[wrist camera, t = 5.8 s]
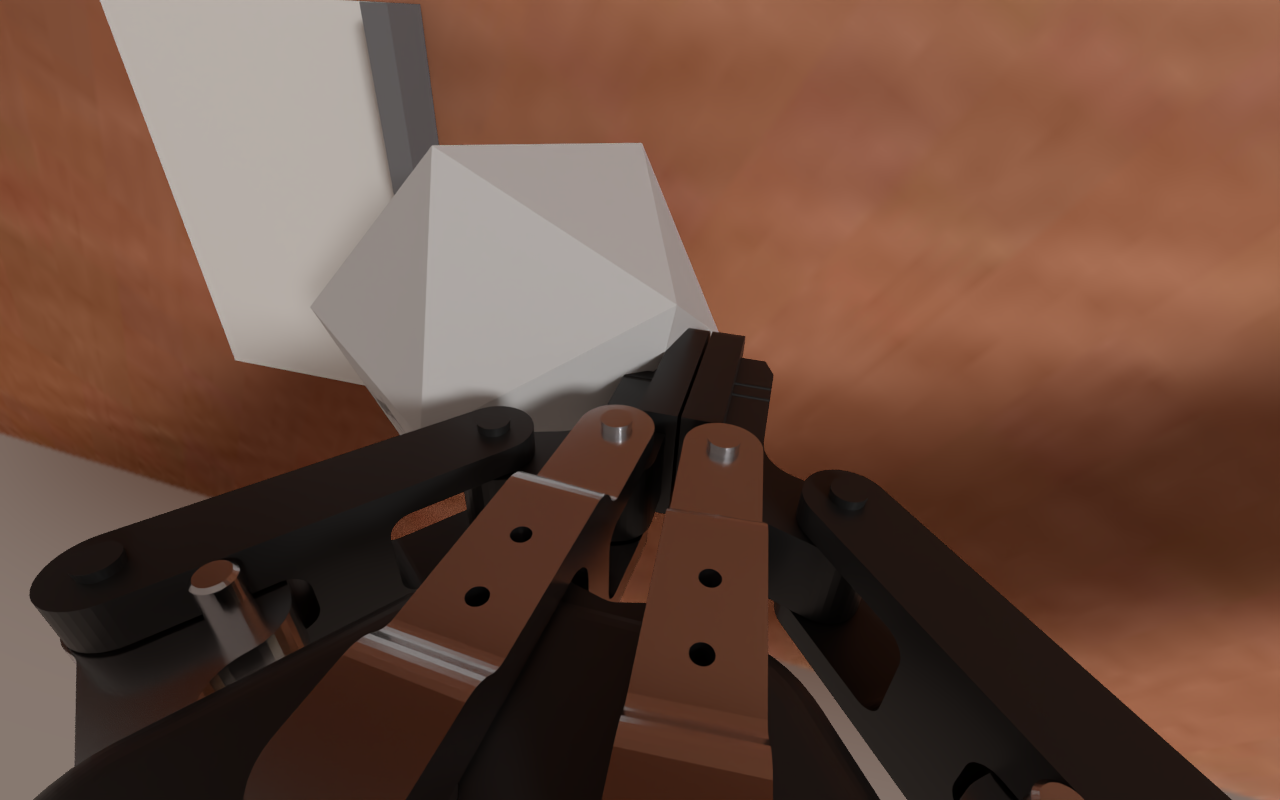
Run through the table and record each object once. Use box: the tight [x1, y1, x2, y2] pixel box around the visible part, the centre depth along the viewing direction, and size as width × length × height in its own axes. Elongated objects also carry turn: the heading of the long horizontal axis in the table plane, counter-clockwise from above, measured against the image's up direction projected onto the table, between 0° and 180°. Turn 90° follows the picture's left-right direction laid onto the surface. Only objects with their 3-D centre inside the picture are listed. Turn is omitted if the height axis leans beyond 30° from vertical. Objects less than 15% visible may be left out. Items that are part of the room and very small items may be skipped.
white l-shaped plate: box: [100, 0, 439, 385], centre depth 20 cm, size 11×13×2 cm
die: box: [310, 143, 718, 435], centre depth 15 cm, size 8×9×10 cm
